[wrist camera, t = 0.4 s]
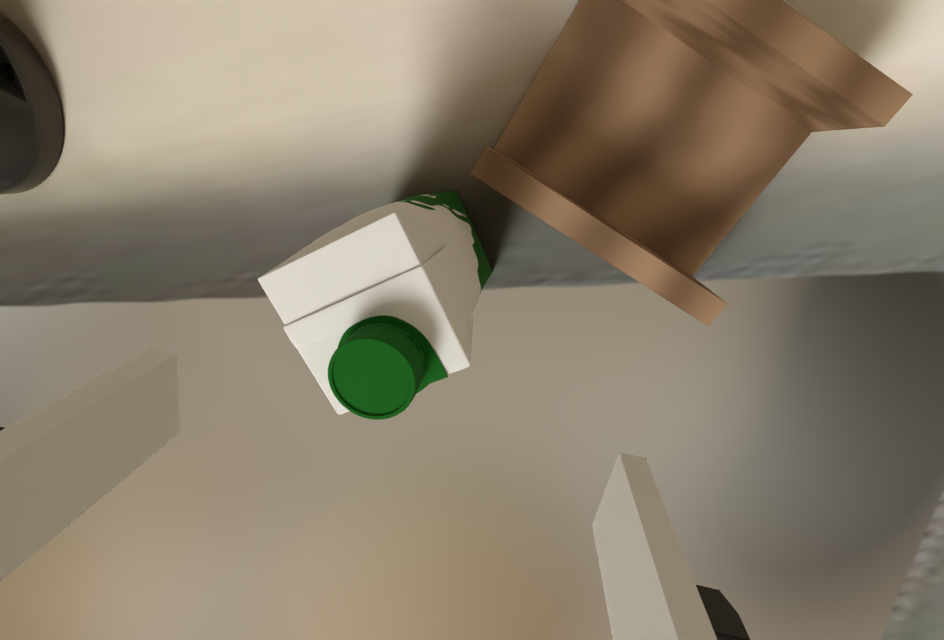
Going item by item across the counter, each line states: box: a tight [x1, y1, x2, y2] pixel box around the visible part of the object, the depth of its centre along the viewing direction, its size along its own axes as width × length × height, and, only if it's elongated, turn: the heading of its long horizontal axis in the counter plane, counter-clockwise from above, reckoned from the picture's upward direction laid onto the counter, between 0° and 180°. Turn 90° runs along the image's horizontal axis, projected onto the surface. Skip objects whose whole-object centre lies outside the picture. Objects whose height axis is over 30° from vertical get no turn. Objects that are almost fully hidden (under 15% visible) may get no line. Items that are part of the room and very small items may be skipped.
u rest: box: [470, 0, 913, 326], centre depth 30 cm, size 18×16×8 cm
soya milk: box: [258, 191, 493, 419], centre depth 29 cm, size 9×9×20 cm
